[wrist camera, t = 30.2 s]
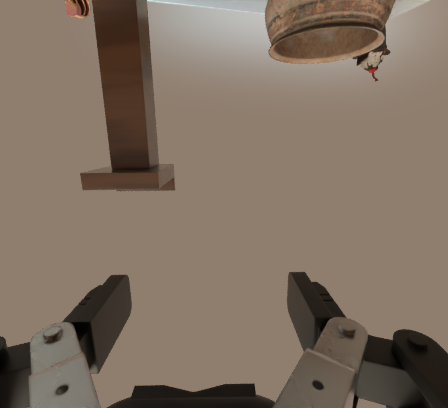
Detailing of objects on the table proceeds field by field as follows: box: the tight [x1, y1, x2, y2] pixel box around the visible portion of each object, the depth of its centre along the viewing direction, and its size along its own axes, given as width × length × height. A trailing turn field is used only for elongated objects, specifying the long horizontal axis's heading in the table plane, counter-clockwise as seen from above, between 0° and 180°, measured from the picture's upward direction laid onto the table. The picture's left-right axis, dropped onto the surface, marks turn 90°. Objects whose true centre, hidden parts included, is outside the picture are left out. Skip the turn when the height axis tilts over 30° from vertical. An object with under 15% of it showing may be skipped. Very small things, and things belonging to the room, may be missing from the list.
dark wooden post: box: [80, 0, 175, 191], centre depth 32 cm, size 10×9×34 cm
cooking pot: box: [265, 0, 395, 64], centre depth 41 cm, size 25×19×12 cm
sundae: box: [353, 26, 390, 81], centre depth 53 cm, size 7×7×15 cm
